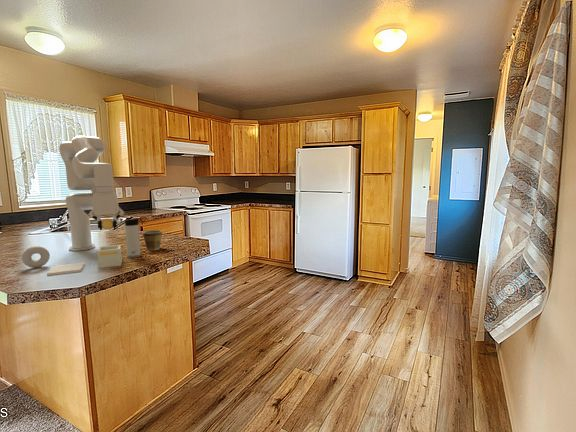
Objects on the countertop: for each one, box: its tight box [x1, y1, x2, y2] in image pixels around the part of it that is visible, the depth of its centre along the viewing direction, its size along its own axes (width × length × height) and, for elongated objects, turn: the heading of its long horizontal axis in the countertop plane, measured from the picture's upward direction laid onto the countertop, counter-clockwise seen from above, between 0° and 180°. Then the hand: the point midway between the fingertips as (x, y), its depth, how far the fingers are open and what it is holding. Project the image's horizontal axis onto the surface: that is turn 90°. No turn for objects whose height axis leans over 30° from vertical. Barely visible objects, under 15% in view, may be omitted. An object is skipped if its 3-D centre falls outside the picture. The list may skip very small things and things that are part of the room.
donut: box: [21, 245, 51, 269], centre depth 141 cm, size 10×4×10 cm, turn 132°
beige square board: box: [46, 262, 86, 276], centre depth 138 cm, size 12×12×1 cm
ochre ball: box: [101, 218, 113, 230], centre depth 144 cm, size 5×5×5 cm
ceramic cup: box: [142, 229, 163, 251], centre depth 177 cm, size 13×10×10 cm
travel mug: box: [124, 217, 142, 259], centre depth 159 cm, size 6×7×20 cm
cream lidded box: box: [96, 244, 123, 269], centre depth 146 cm, size 9×9×8 cm
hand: (107, 228), depth 144 cm, fingers closed on ochre ball, 4 cm apart
